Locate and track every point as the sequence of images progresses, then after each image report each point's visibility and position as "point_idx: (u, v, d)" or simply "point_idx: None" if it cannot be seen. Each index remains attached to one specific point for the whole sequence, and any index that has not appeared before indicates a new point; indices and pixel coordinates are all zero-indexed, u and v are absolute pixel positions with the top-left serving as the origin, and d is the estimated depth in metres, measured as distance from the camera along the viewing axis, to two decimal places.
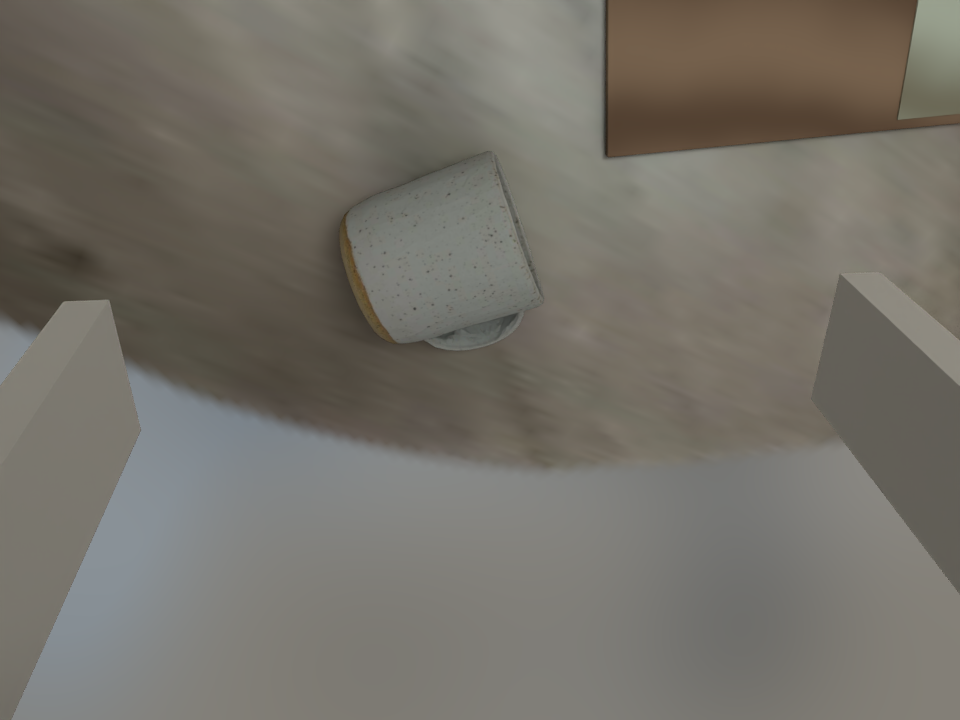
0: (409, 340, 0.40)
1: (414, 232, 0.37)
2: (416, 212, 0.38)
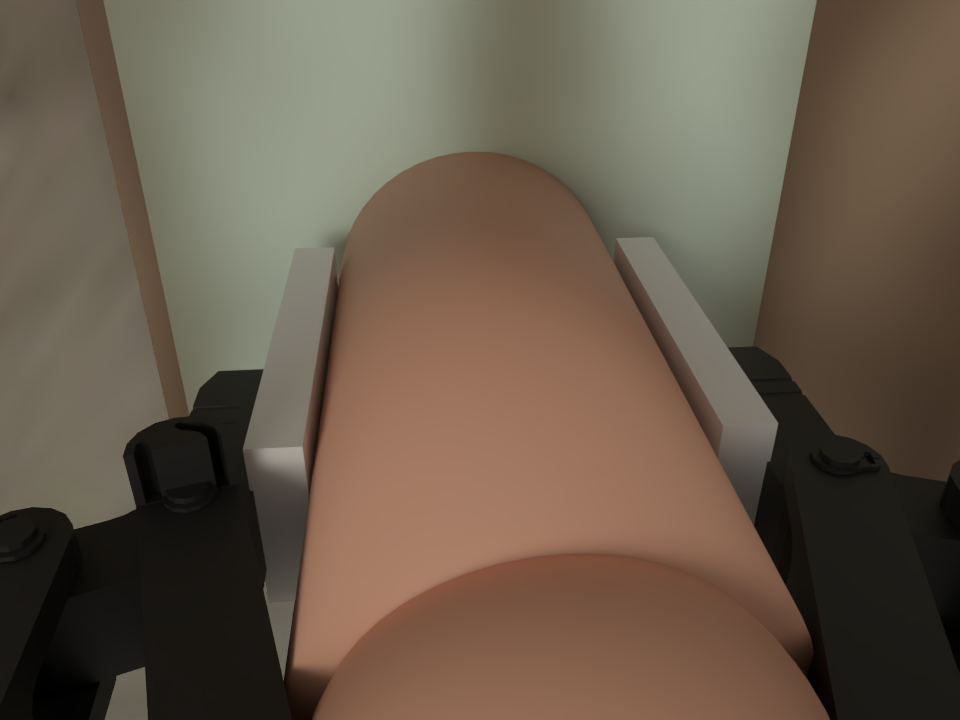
0: None
1: None
2: None
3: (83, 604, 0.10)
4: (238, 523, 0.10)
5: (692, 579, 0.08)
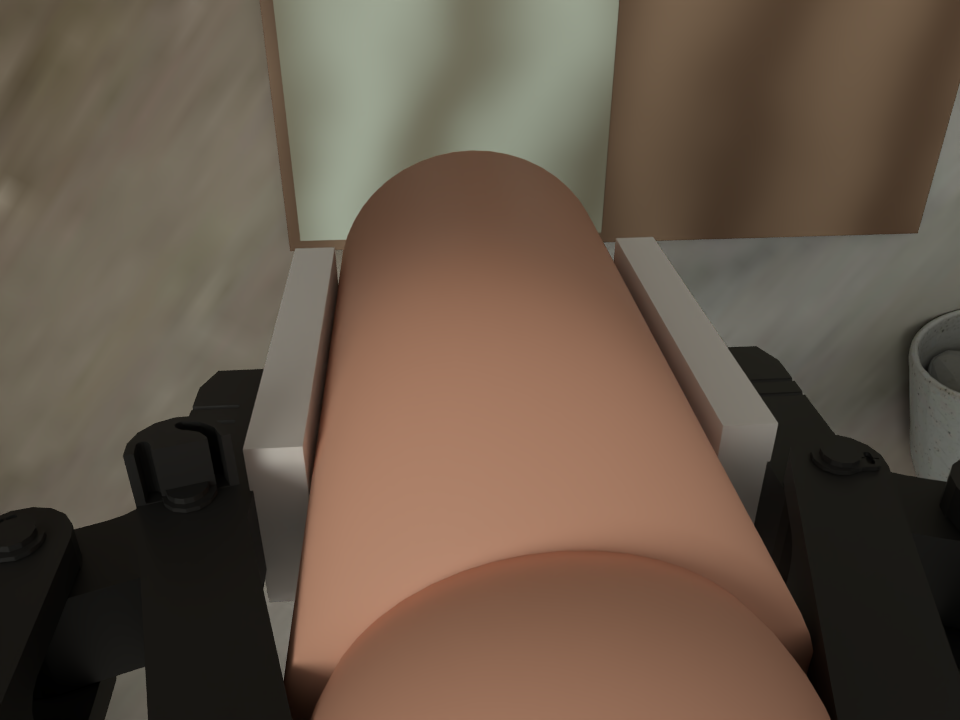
0: None
1: None
2: (954, 460, 0.39)
3: (83, 604, 0.10)
4: (238, 523, 0.10)
5: (690, 577, 0.08)
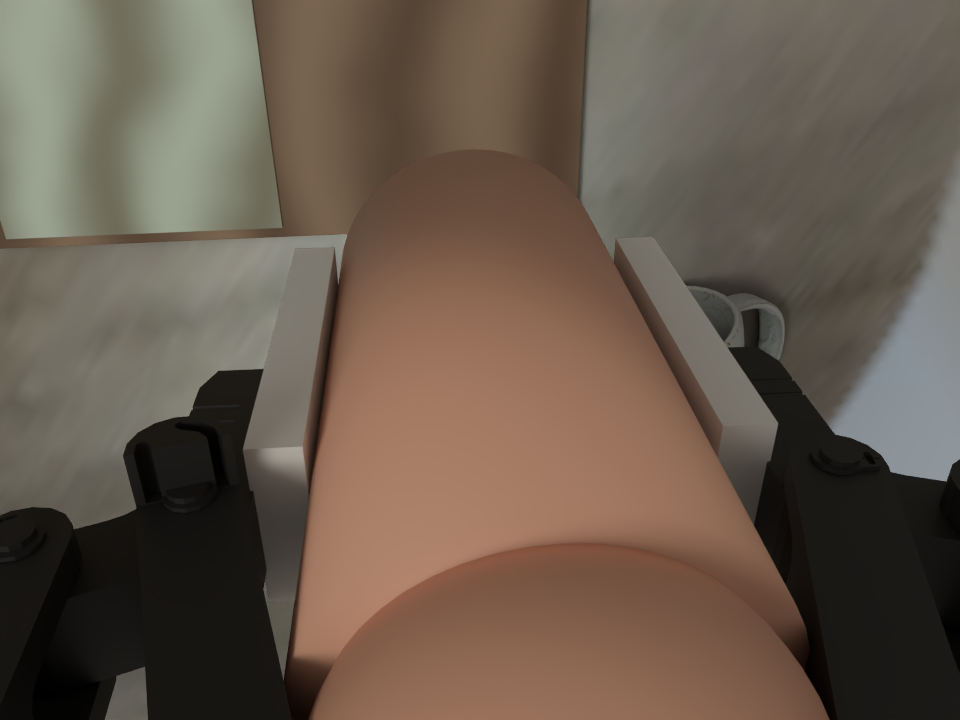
0: None
1: None
2: None
3: (83, 604, 0.10)
4: (238, 523, 0.10)
5: (687, 569, 0.08)
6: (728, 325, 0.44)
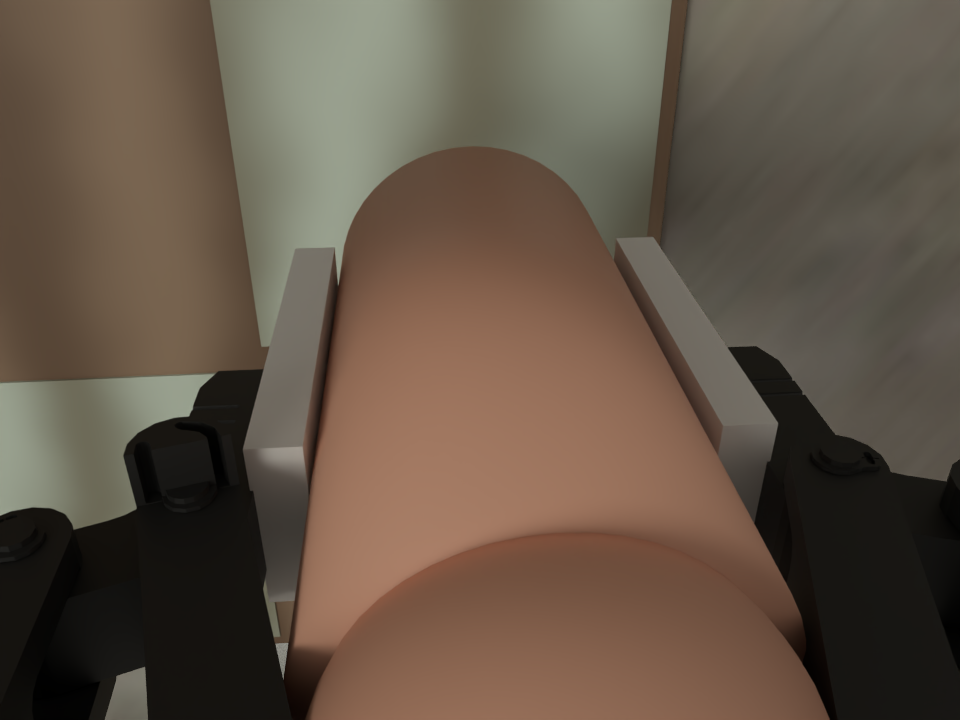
0: None
1: None
2: None
3: (83, 604, 0.10)
4: (238, 523, 0.10)
5: (683, 558, 0.08)
6: None
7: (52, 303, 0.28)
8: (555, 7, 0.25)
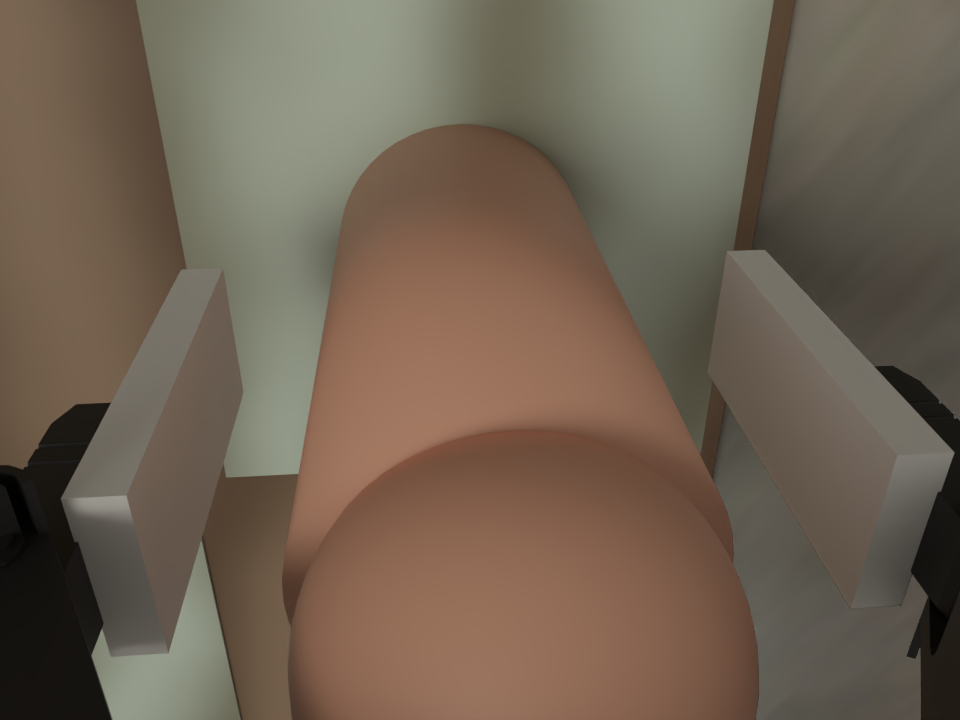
0: None
1: None
2: None
3: None
4: (51, 573, 0.09)
5: (621, 452, 0.09)
6: None
7: None
8: (610, 56, 0.18)
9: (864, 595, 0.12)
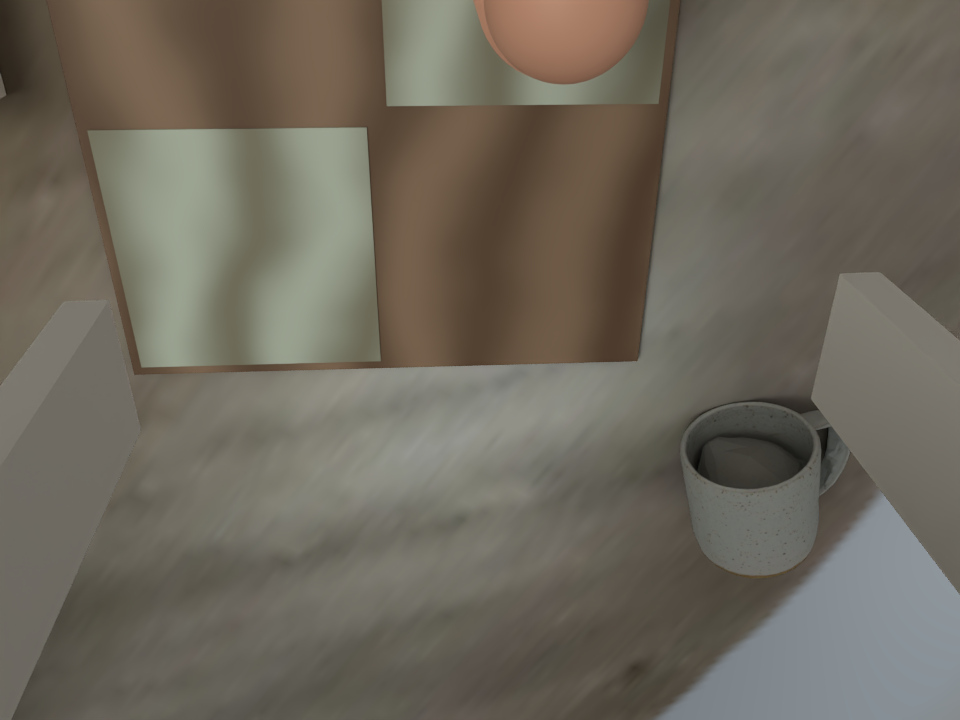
0: (812, 543, 0.50)
1: (724, 539, 0.48)
2: (709, 528, 0.49)
3: None
4: None
5: None
6: (804, 442, 0.49)
7: (242, 65, 0.39)
8: None
9: None
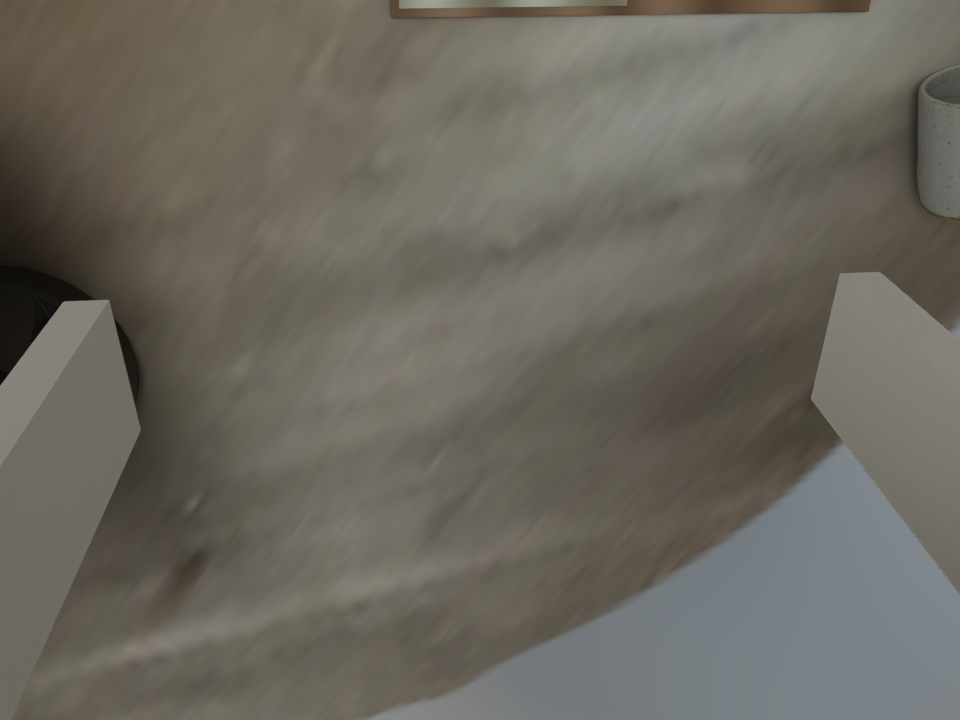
0: None
1: None
2: (952, 168, 0.50)
3: None
4: None
5: None
6: None
7: None
8: None
9: None
